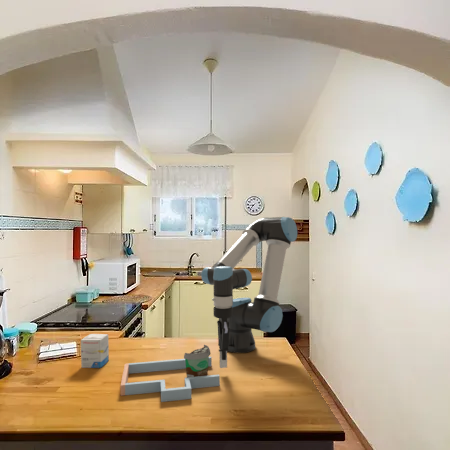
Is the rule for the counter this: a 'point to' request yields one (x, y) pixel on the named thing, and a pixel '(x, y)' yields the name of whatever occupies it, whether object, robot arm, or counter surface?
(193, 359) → the food container
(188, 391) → the channel
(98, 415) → the counter surface
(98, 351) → the ink box
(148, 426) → the counter surface
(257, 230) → the robot arm
